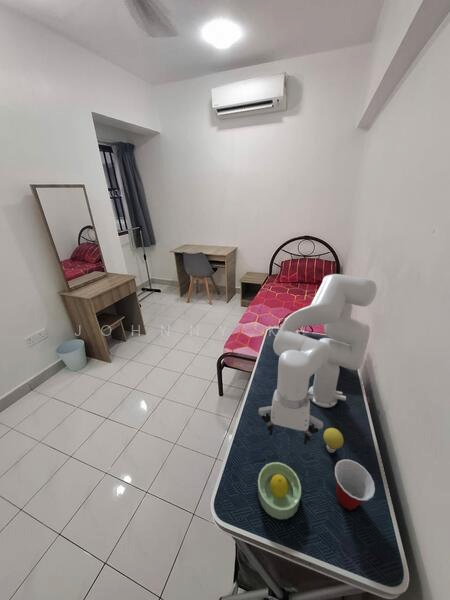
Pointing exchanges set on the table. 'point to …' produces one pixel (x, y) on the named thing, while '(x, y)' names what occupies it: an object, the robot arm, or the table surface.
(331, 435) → the light bulb
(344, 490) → the plastic cup
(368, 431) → the table surface
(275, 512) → the pale green bowl
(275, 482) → the lemon
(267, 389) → the table surface
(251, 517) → the table surface
